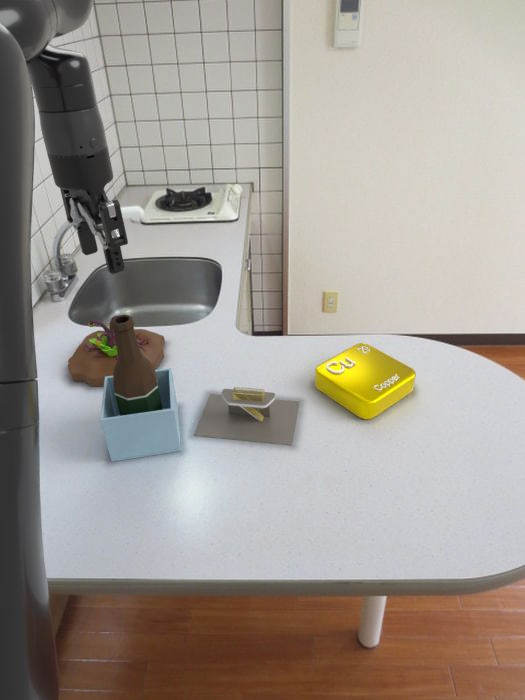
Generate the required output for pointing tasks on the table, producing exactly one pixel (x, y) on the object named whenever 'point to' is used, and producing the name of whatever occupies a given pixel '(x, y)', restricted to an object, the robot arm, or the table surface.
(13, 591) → the robot arm
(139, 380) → the beer bottle
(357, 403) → the element tile
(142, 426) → the case
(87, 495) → the table surface
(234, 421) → the platform
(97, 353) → the plant
